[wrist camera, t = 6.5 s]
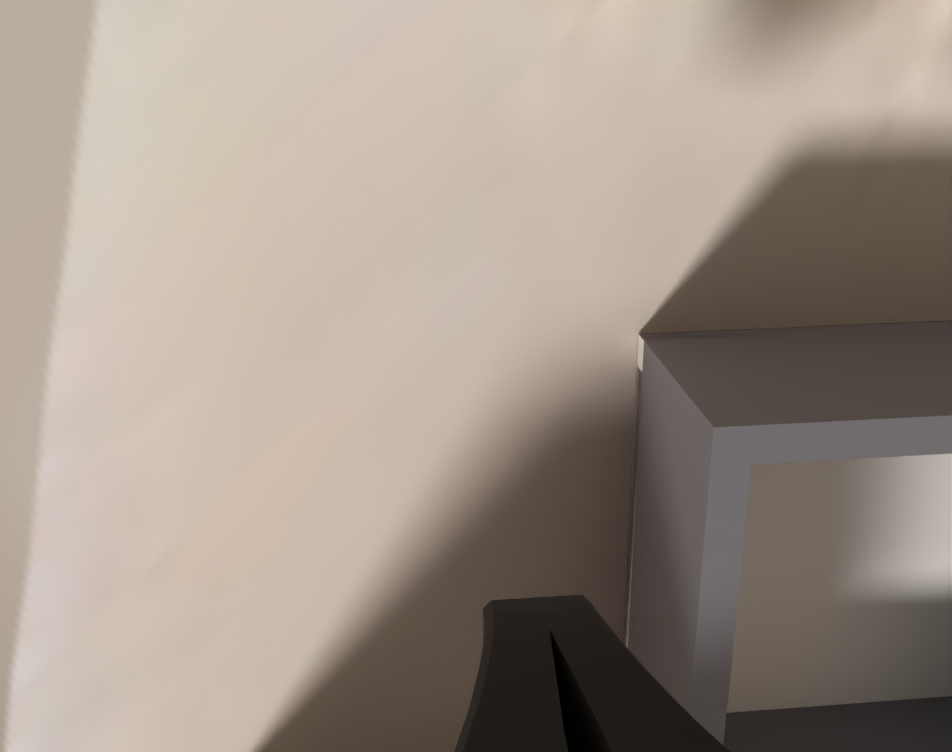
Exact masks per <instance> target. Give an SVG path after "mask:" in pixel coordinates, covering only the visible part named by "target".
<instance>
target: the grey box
mask: <svg viewBox="0 0 952 752" xmlns="http://www.w3.org/2000/svg"><path fill="white" fill-rule="evenodd" d="M623 643H624V644H625V646H626V647H627V648H628V649H629V650H630V651H631V653H632V654H633V655H634V656H635V657H636V658H637V659H638V661H639V662H640V663H641V664H642V665H643V666H644V667H645V668H646V669H647V670H648V672H649V673H650V674H651V675H652V676H653V677H654V678H655V679H656V680H657V681H658V682H659V683H660V684H661V685H662V686H663V687H664V688H665V689H666V690H667V692H668V693H669V694H670V695H671V696H672V697H673V698H674V699H675V700H676V701H677V702H678V703H679V704H680V705H681V706H682V707H683V708H684V709H685V710H686V711H687V712H688V713H689V714H690V715H691V716H692V717H693V718H694V719H695V720H696V721H698V722H699V723H700V724H701V725H702V726H703V727H704V728H705V729H706V730H707V731H708V732H709V733H710V734H711V735H713V736H714V737H715V738H716V739H717V740H718V741H719V742H720V743H721V744H722V745H724V746H725V747H726V748H727V749H728V750H729V751H730V752H952V321H932V322H908V323H885V324H862V325H838V326H815V327H791V328H768V329H745V330H721V331H698V332H675V333H651V334H639V337H638V357H637V377H636V397H635V418H634V438H633V458H632V478H631V498H630V518H629V538H628V558H627V578H626V598H625V618H624V638H623Z"/></svg>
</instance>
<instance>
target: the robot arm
mask: <svg viewBox="0 0 952 752" xmlns="http://www.w3.org/2000/svg"><path fill="white" fill-rule="evenodd" d="M483 640H484V644H483V650H482V656H481V662H480V668H479V672H478V676H477V680H476V684H475V688H474V692H473V696H472V700H471V704H470V707H469V711H468V714H467V717H466V720H465V723H464V726H463V729H462V731H461V734H460V737H459V740H458V743H457V746H456V749H455V752H730V751H729V750H728V749H727V748H726V747H725V746H724V745H722V744H721V743H720V742H719V741H718V740H717V739H716V738H715V737H714V736H713V735H711V734H710V733H709V732H708V731H707V730H706V729H705V728H704V727H703V726H702V725H701V724H700V723H699V722H698V721H696V720H695V719H694V718H693V717H692V716H691V715H690V714H689V713H688V712H687V711H686V710H685V709H684V708H683V707H682V706H681V705H680V704H679V703H678V702H677V701H676V700H675V699H674V698H673V697H672V696H671V695H670V694H669V693H668V692H667V690H666V689H665V688H664V687H663V686H662V685H661V684H660V683H659V682H658V681H657V680H656V679H655V678H654V677H653V676H652V675H651V674H650V673H649V672H648V670H647V669H646V668H645V667H644V666H643V665H642V664H641V663H640V662H639V661H638V659H637V658H636V657H635V656H634V655H633V654H632V653H631V651H630V650H629V649H628V648H627V647H626V646H625V644H624V643H623V642H622V641H621V640H620V639H619V638H618V636H617V635H616V634H615V633H614V632H613V630H612V629H611V628H610V627H609V625H608V624H607V623H606V622H605V621H604V619H603V618H602V617H601V616H600V614H599V613H598V612H597V611H596V609H595V608H594V607H593V606H592V604H591V603H590V602H589V601H588V600H587V599H586V598H585V597H584V596H583V595H571V596H555V597H539V598H524V599H508V600H492V601H490V602H489V603H488V604H487V605H486V606H485V607H484V608H483Z"/></svg>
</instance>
